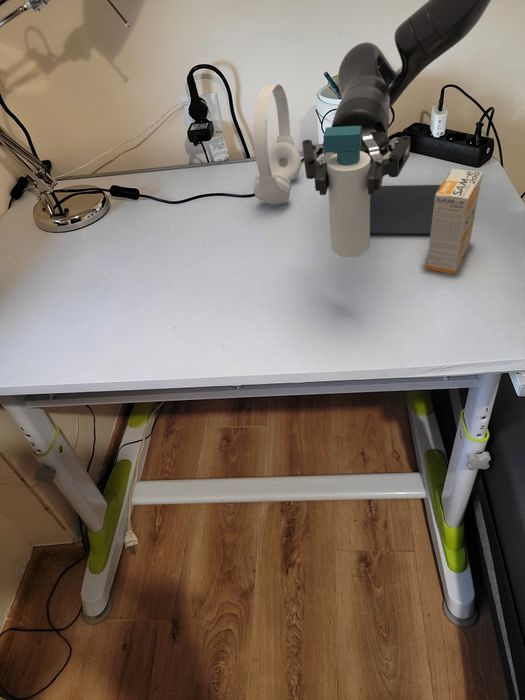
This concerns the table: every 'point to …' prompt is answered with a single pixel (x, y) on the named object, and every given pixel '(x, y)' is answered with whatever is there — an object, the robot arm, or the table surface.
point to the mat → (402, 210)
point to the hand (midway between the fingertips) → (346, 187)
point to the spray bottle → (348, 191)
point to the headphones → (274, 150)
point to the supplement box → (453, 219)
